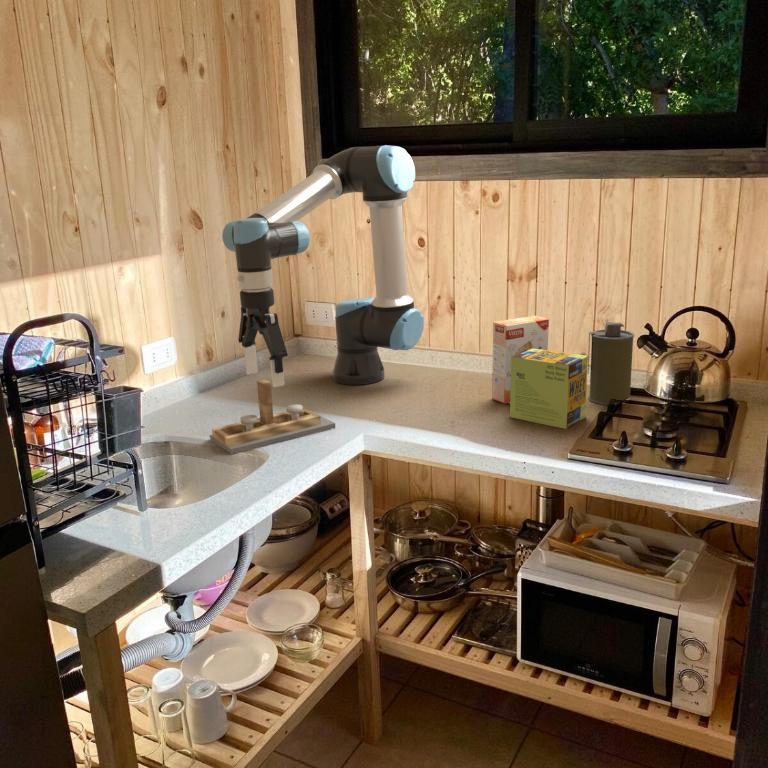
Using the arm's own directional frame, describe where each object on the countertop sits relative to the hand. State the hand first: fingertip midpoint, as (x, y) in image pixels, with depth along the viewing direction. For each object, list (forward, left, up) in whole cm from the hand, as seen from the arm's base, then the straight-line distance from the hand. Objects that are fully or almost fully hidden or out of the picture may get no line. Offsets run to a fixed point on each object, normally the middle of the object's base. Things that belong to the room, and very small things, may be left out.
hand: (265, 379), depth 185 cm
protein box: (-59, +33, -14) cm, 69 cm away
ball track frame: (0, 0, -12) cm, 12 cm away
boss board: (-1, 0, -14) cm, 14 cm away
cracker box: (-65, +17, -14) cm, 68 cm away
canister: (-81, +33, -14) cm, 88 cm away
